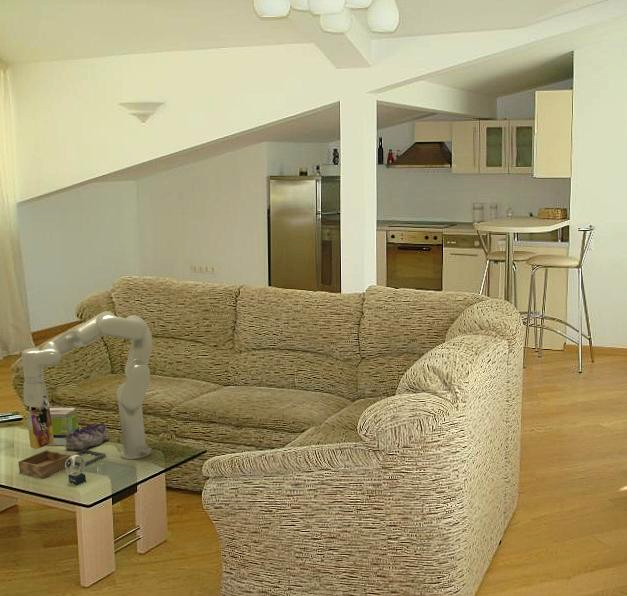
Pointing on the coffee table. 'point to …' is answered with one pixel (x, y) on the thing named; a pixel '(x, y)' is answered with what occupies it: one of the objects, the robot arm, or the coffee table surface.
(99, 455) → the grey square frame
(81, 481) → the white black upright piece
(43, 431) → the candy box
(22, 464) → the crate
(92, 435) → the geode
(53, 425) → the tea box
